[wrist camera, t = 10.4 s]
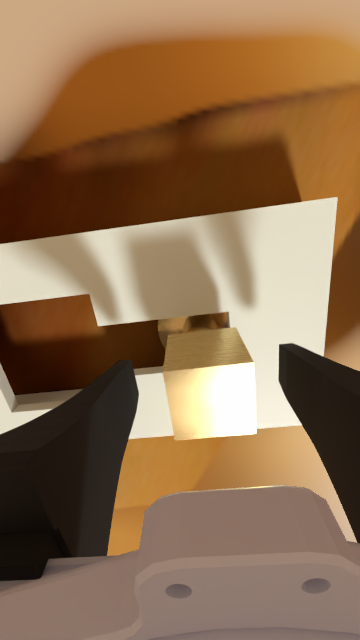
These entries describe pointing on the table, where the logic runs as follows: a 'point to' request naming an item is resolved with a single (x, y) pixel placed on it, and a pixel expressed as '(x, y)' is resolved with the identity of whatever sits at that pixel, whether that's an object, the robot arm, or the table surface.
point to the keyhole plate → (187, 293)
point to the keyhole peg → (207, 377)
